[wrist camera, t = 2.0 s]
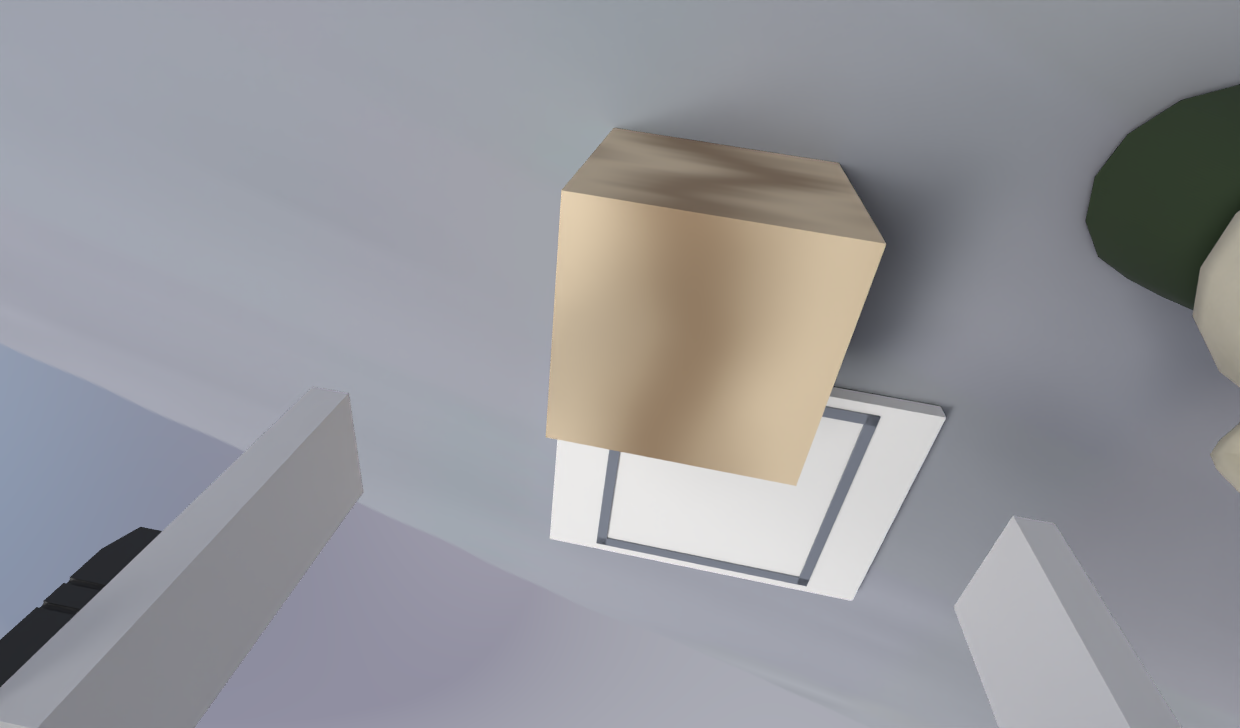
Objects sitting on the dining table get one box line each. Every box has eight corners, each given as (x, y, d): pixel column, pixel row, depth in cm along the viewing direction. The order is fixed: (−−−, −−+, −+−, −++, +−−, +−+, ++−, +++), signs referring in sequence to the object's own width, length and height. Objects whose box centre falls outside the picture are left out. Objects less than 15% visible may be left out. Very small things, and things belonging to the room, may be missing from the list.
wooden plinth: (838, 162, 21) (886, 243, 15) (779, 354, 26) (796, 485, 19) (614, 127, 22) (561, 190, 15) (593, 321, 26) (545, 437, 20)
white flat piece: (940, 406, 26) (946, 419, 25) (849, 587, 32) (852, 602, 31) (569, 338, 27) (564, 348, 26) (553, 527, 33) (549, 540, 32)
